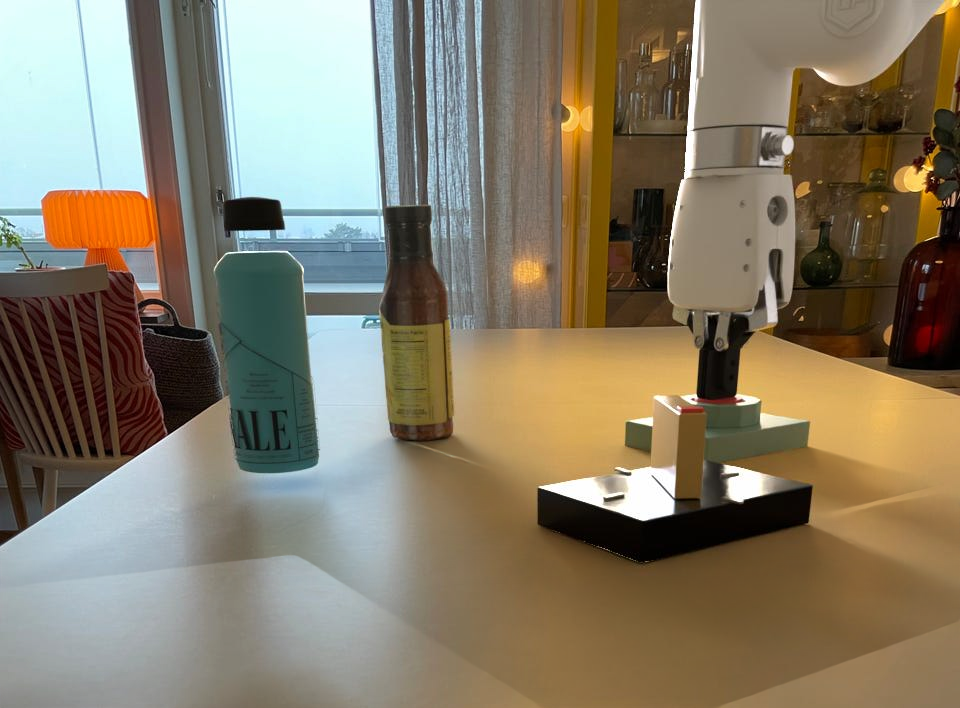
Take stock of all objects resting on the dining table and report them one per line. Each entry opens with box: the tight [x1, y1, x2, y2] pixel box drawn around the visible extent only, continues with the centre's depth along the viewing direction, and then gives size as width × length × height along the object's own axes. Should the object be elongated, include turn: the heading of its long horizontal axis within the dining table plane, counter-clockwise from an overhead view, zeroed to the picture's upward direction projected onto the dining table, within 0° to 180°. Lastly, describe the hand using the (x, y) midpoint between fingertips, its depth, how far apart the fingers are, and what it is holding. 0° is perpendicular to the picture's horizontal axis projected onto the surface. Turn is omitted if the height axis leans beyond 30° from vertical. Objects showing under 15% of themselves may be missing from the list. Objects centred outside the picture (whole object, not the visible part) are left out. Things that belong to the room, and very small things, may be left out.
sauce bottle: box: [378, 204, 456, 442], centre depth 87 cm, size 7×6×20 cm
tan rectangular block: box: [650, 394, 707, 499], centre depth 60 cm, size 7×2×5 cm, turn 3°
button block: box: [624, 393, 811, 463], centre depth 83 cm, size 12×10×4 cm
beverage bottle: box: [213, 196, 321, 474], centre depth 70 cm, size 6×7×20 cm
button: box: [694, 396, 743, 404], centre depth 83 cm, size 4×4×2 cm
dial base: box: [536, 460, 814, 563], centre depth 61 cm, size 14×11×3 cm
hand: (716, 397), depth 82 cm, fingers closed
